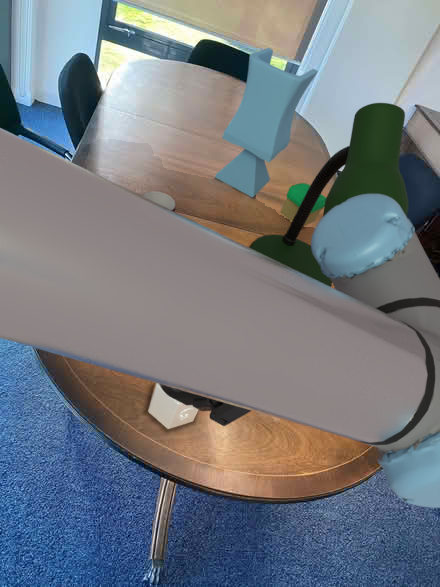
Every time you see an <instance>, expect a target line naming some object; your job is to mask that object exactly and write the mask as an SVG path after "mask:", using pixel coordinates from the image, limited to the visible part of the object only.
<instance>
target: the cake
mask: <svg viewBox="0 0 440 587" xmlns="http://www.w3.org/2000/svg"><path fill="white" fill-rule="evenodd" d="M310 185H311V184H308V183H304V182H302V183H301V182H299V183H295V184H293V185H291V186H290V187H289V188H288V190H287V192H286V199H285V200H284V203H283V205H282V207H281V209H280V212H279V213H280V214H282V215H283V217H284V218H286V219H288V220H289V221H290V222H292V221H293V219H294V217H295V215H296V213H297V211H298V209H299V207H300V205H301V203H302V201H303V199H304V197H305V195H306V193H307V191H308V189H309V187H310ZM326 198H327V196H324V195H323V194H322V193H321V194H320V196H319V198H318V200H317V202H316V203H315V205H314V207H313V209H312V211H311V213H310V215H309V216H308V218H307V220H306V222H305V224H304V226H303V227H306V226H308V225H310V224H313V223H314V222H316V220H317V218H318V216H319V215H320V213H321V211H322V210H324V206H325V200H326Z"/></svg>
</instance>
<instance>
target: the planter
mask: <svg viewBox="0 0 440 587" xmlns="http://www.w3.org/2000/svg"><path fill="white" fill-rule="evenodd" d="M273 52H274V49H272V48H270V47H267V48H264V49H261V50H257V51H255V52H252V53H250V54H249V58H248V59H249V61H248V69H247V77H246V83H245V89H244V92H243V95H242V99H241V102H240V104H239V106H238V108H237V110H236V111H235V114H234V116H233V117H232V119H231V120H230V122H229V124H228V125H227V126H226V128H225V129H224V131H223V133H222V137H221V139H222V140H224V141H226V142H228V143H230V144H232V145H235V146H237V147H240V148H243V150H242V151H241V152H239V153H238V154H237V155H236V156H235V157H234V158H233V159H231V161H230V162H228V163H227V164H226V165H225V166H224V167H222V168H221V169H220V170H219V171H218V172H217V173H215V177H214V178H215V179H217V180H219V181H221V182H222V183H224V184H226V185H228V186H230V187H231V188H234V189H236V190H238V191H239V192H240V193H243V194H245V195H247V196H248V197H250V198H255V196H256V195H257V194H258V193H259V192H260V191H261V190H262V189H263V188H264V187H265V186H266V185H267V184H268V183H269V182H270V180H271V177H270V174H269V170H268V168H267V164H266V162H267V163H271V162H272V161H273V160H274V159H275V158H276V157H277V156H278V155H279V153H281V152H282V151H284V150H285V149H286V148H287V147H288V145H289V143H290V141H291V132H292V131H291V130H292V124H293V119H294V115H295V112H296V109H297V107H298V105H299V103H300V101H301V99H302V97H303V95H304V93H305V92H306V91H307V89H308V87H309V86H310V85H311V83H312V81H313V80H314V79H315V77H316V76H317V74H318V73H319V70H316V69H315V68H312V69H310V70H308V71H306V72H304V73H303V74H301V75H298V74H294V73H290V72H288V71H285V70H283V69H281V68H279V67H276V66H274V65H273V64H271V61H272V57H273Z"/></svg>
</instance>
